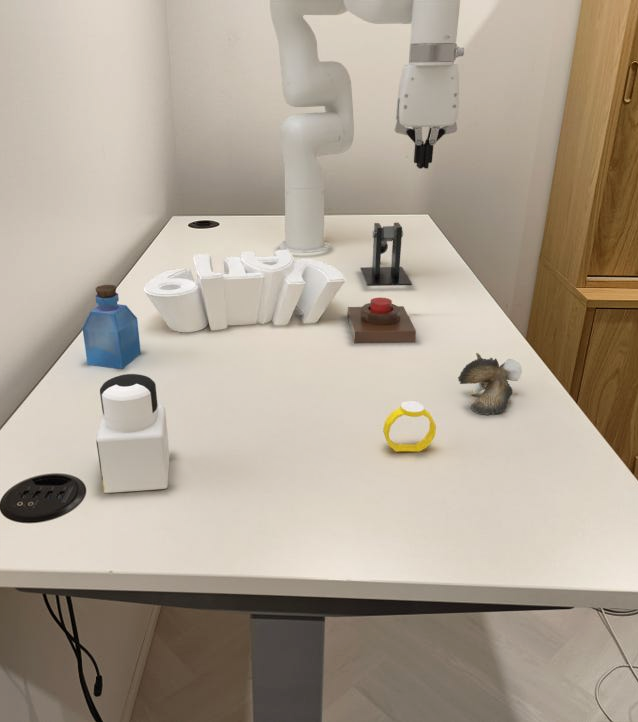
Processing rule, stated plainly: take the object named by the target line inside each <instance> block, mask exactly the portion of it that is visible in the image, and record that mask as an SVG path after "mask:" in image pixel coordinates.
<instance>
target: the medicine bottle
mask: <svg viewBox="0 0 638 722" xmlns="http://www.w3.org/2000/svg"><path fill="white" fill-rule="evenodd" d="M99 397H100V403H101V411H102V415H101V420H100V423H99V427H98V431H97V435H96V439H95V442H96V448H97V455H98V456H97V457H98V463H99V469H100V476H101V477H100V478H101V484H102V490H103V492H104V493H105V494H110V493H111V494H112V493H125V492H139V491H153V490H165V489H167V488H168V485H169V472H170V471H169V469H170V444H169V433H168V425H167V414H166V406H165V405H163V404H158V395H157V385H156V382H155V380H153V379H152V378H151V377H149V376H147V375H143V374H137V373H126V374H125V373H124V374H121V375H118V376H114V377H111V378H110V379H107V380H106V381H105V382H103V384H102V385H101V386H100V388H99Z"/></svg>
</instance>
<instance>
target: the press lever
mask: <svg viewBox="0 0 638 722" xmlns="http://www.w3.org/2000/svg"><path fill="white" fill-rule="evenodd" d="M393 239H394V225H389V226H387V225H385V226H384V225H383V226H382V242H381V255H383V254H385V253H386V252H387V251H388V247H389V244H388V242H393Z"/></svg>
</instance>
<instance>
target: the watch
mask: <svg viewBox="0 0 638 722" xmlns="http://www.w3.org/2000/svg"><path fill="white" fill-rule="evenodd" d="M403 416H407V417H410V418H418V417H419V418H420V417H421V416H424V417H425V418H427V419H428V421H429V427H428V428H429V429H428V432H427V433H426V435H425V436H424V437H423V439H421V440H419V441H418V442H416V443H412V444H411V443H410V444H408V443H395V442H394V441H393V440H392V439H390V431H391V427H392V425H393V424H395V422H396V420H398V419H399V418H400V417H403ZM436 429H437V426H436V423H435V421H434V419H433V416H431V414H430V412H429V411H428V410H427V409H426V408H425V406H424V405H423V404H422V403H420V402H418V401H413V400H407V401H403V402H402V403H400V407H398V408H396V409H395V410H393V411H392V412H391V413H390V414H389V415H388V417H386V419H385V420H384V424H383V429H382V430H383V431H382V432H383V434H384V435H383V436H384V438H385V441H386V443H387V445H388V446H389V447H390V448H391V449H392V450H393V451H394V452H396V453H398V452H418V453H419V452H420V453H421V451H423V450H424V449H425V450H426V448H428V447H429V446H430V444H431V443H432V442H433V440H434V438H435V436H436V432H437V431H436Z"/></svg>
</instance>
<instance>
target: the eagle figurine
mask: <svg viewBox="0 0 638 722" xmlns="http://www.w3.org/2000/svg"><path fill="white" fill-rule="evenodd" d="M475 356H476V359H474V360H472V361H471V362H469V363H467V364H466V365H465V367H463V369H462V371H461V372H460V374H459V376H458V377H457V380H458V382H459V384H460V385H468V384H471V385H472V384H473V385H475V384H476V385H475V387H473V388H472V391H471V393H470V395H471V396H473V395H477V394H479V393H481V392H482V391H483V392H482V393H481V394H480V396H479V397H477V399H476V400H475V401H474V402H472V403H471V405H470V406H469V407H470V408H471V410H472V411H473V412H475V414H476V415H477V414H478V415H487V416H488V415H490V414H492V415H495V414H498V413H500V412H502V411H504V410H505V408H506V407H507V405H508V403H509V400H510V398H511V397H513V389H512V386H511V385H510V383H509V381H511V382H518V381H519V380H520V378H521V376H522V373H523V370H522V365H521V364H520V363H519V362H518V361H516V360H515V359H513V358H508V359H506V361H505V362H503V363H502V364H501V365H500V364H499V361H498V359H497V358H493V357H489V358H483V357H482V356H481V354H480V353H479V352H476V353H475Z"/></svg>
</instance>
